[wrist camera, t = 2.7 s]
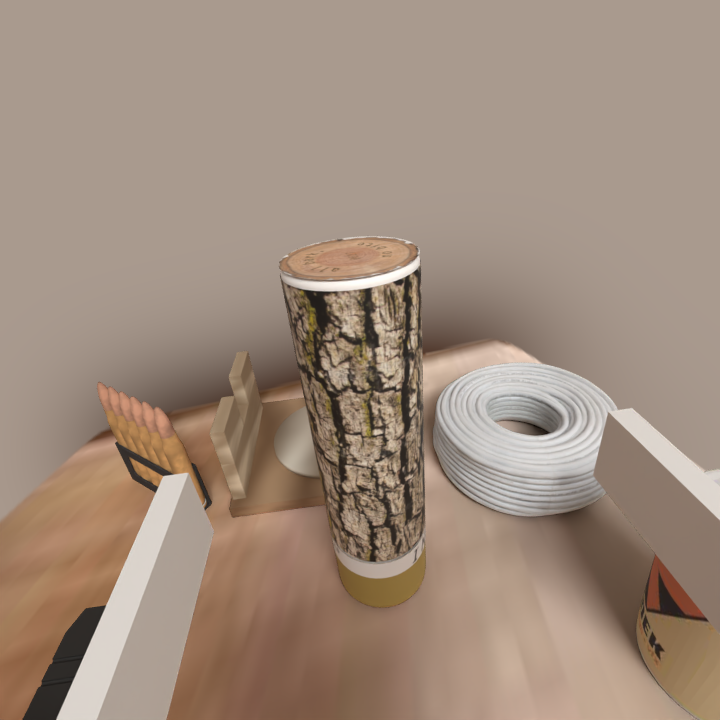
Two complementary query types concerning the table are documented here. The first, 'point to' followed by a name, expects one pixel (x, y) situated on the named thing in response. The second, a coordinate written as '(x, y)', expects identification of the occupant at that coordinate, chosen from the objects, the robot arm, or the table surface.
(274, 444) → the base
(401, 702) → the table surface
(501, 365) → the cable
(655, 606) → the coffee cup
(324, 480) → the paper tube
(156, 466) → the ammunition clip
